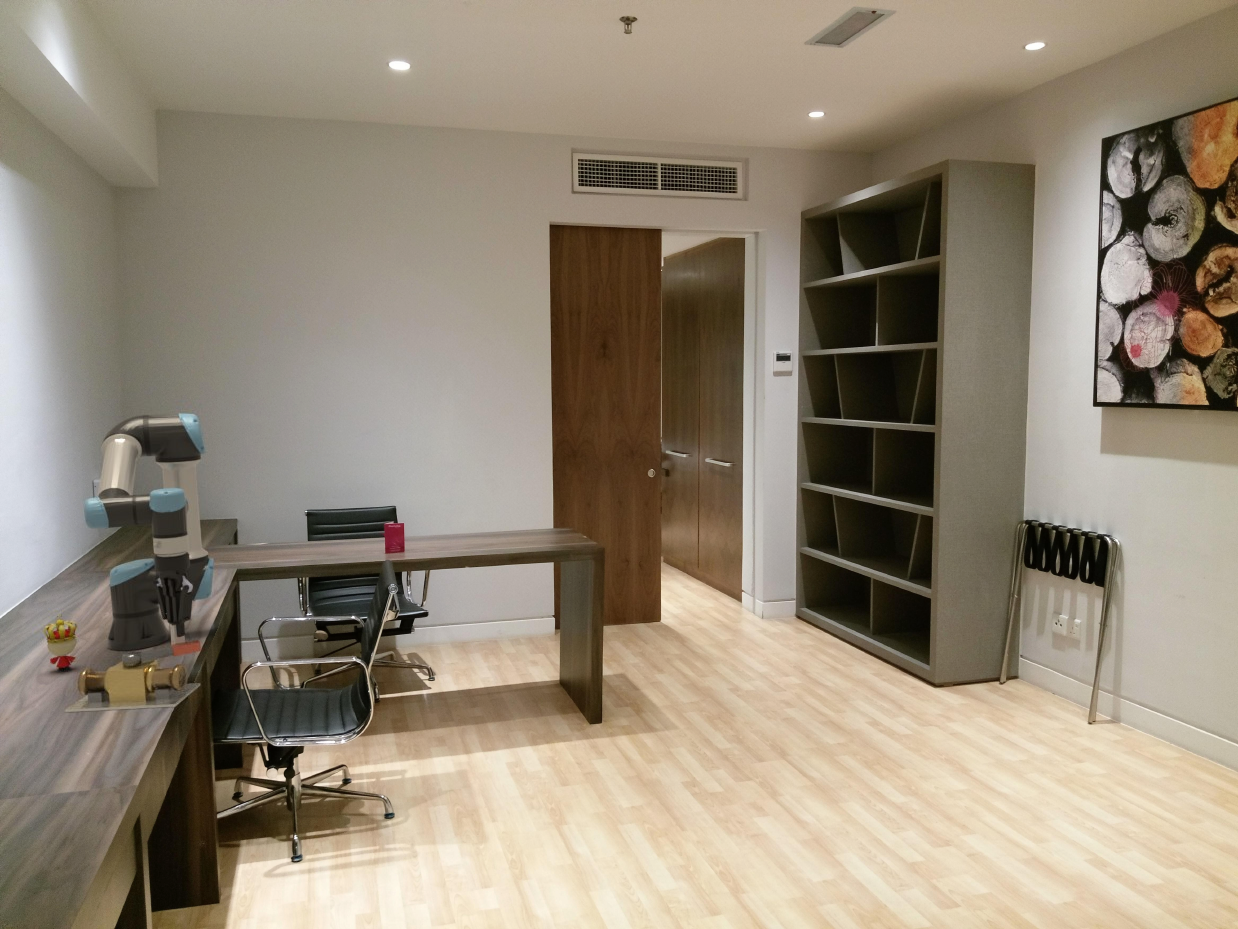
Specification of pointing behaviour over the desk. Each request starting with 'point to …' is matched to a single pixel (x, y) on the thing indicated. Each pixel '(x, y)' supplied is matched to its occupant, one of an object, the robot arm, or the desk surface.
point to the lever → (160, 653)
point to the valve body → (132, 687)
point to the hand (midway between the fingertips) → (178, 649)
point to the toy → (61, 643)
